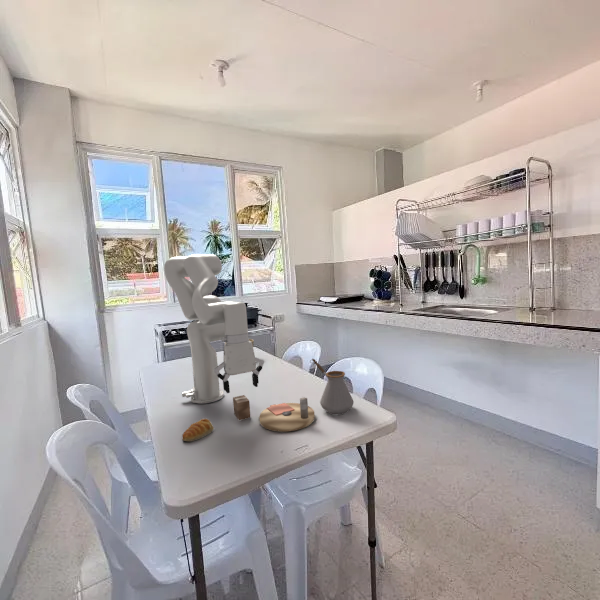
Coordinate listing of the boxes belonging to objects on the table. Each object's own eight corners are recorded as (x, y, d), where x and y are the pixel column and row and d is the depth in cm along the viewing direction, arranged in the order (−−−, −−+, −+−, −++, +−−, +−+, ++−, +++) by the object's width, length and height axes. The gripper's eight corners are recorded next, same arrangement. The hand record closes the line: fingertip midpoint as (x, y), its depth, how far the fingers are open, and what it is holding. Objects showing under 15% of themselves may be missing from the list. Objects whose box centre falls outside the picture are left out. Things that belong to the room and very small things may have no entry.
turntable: (316, 429, 98) (315, 405, 97) (256, 433, 97) (255, 409, 97) (312, 405, 116) (311, 385, 115) (262, 408, 115) (260, 388, 114)
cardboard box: (238, 420, 107) (237, 402, 107) (234, 414, 113) (232, 396, 112) (250, 417, 109) (249, 399, 109) (245, 411, 114) (244, 394, 114)
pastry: (192, 445, 93) (191, 432, 93) (176, 441, 96) (175, 428, 96) (215, 431, 101) (214, 419, 101) (200, 427, 104) (199, 415, 104)
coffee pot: (360, 411, 109) (359, 368, 108) (332, 420, 104) (330, 374, 103) (326, 392, 128) (324, 355, 127) (300, 399, 123) (298, 360, 121)
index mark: (273, 410, 114) (273, 408, 114) (270, 406, 117) (270, 405, 117) (279, 408, 115) (279, 407, 115) (275, 405, 118) (275, 404, 118)
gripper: (213, 344, 101) (218, 398, 102) (265, 336, 109) (269, 386, 110) (208, 341, 108) (213, 391, 109) (258, 334, 116) (262, 381, 117)
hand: (241, 388), depth 109 cm, fingers open, 9 cm apart
